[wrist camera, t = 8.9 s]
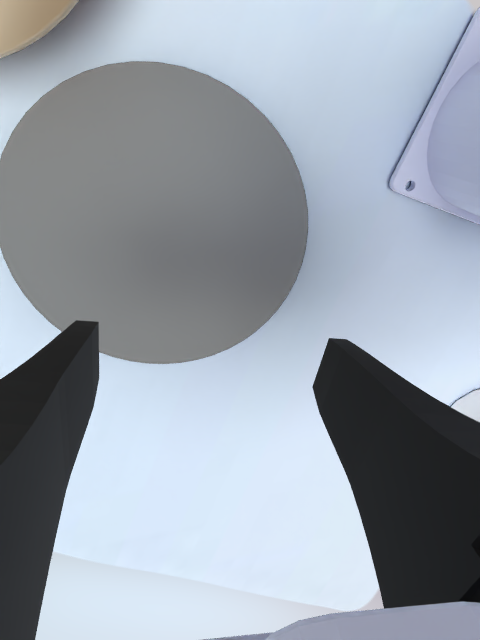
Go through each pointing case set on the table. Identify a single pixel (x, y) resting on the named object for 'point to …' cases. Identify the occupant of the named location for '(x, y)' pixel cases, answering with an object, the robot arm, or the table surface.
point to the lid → (29, 21)
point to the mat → (152, 211)
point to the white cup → (469, 405)
